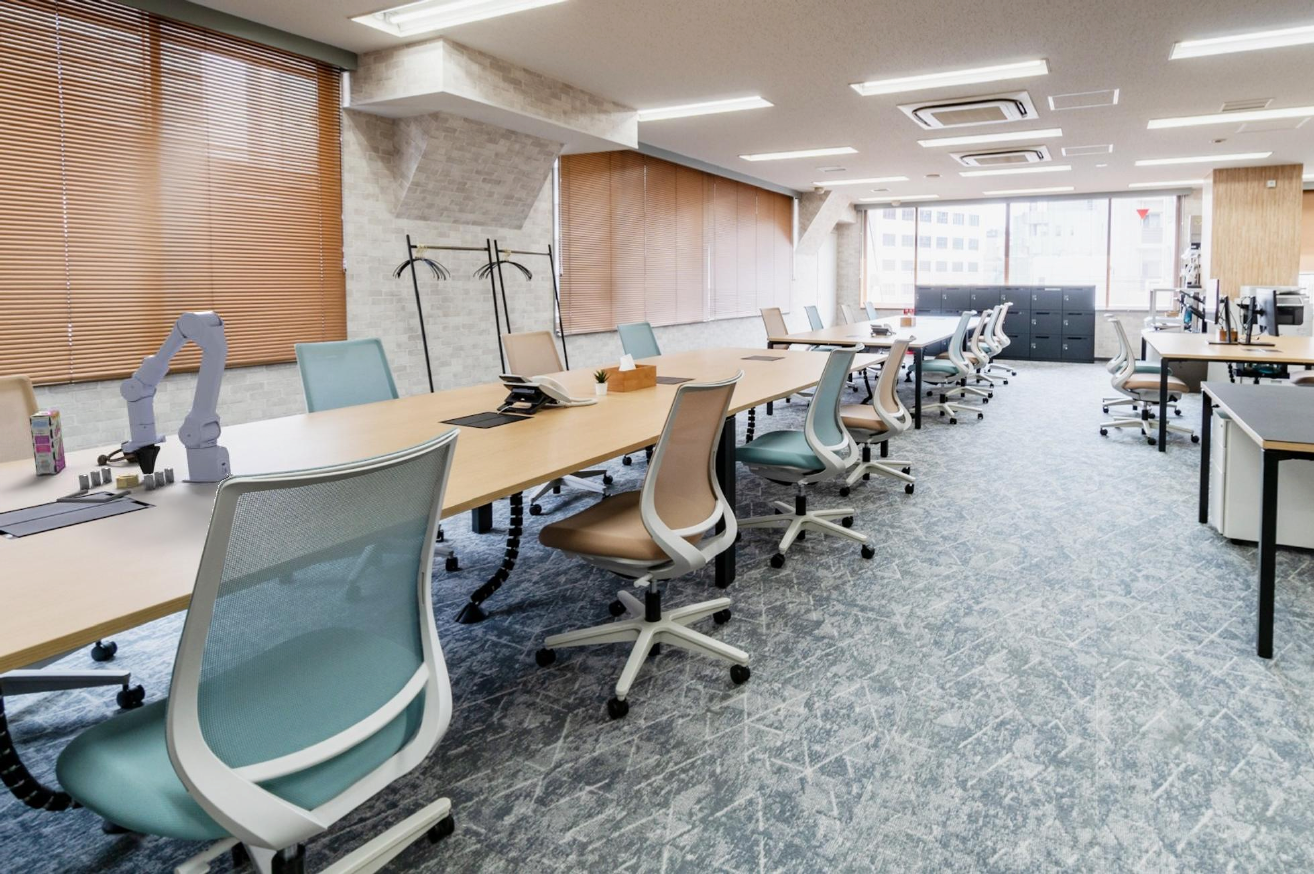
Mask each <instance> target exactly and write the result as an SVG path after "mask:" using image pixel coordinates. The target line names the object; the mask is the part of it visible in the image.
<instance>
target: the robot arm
mask: <svg viewBox="0 0 1314 874" xmlns="http://www.w3.org/2000/svg"><path fill="white" fill-rule="evenodd" d="M225 326H226V323H225V321H223V319H221V317H220V315H219V314H217V313H216V312H214V311H213V310H207V311H198V312H191V311H186V312H184V313H182V314H181V315H180V316H179V318H178V320H176V321H175V322H174V323H173V328H172V329H171V331H170V333H169V334H168V335H167V337H166V339H165V340H164V342H163V343H162V344H161V345H160V348H159V349H158V351H157V352H156V354H154V355H148V356H146V357H144V358H142V360H141V362H142V364H141V365H140V366H139V368H138V369H137V370H136V371H135V372H132V374H131V376H132V377H130V378H126V379H123V380H122V382H121V384H120V387H119V391H120V392H119V393H120V395H121V397H122V398H123V399H124V400H126V405H127V414H128V422H129V431H130V439H128V440H127V441H128V443H126V444H124V445H122V450H123V452H130V453H131V454H132V455H133V456H134V457H135V459H136V460H137V461H136V462H137V464H138V466H139V468H140V471H141V472H142V474H143V475H154V473H155V466H156V460H157V458H158V456H159V453H160V451H161V446H160V445H157V444H161V443H166V442H167V439H166V437H167V436H166V435H165V434H164V435H163V434H157V430H156V420H155V413H154V402H155V401H154V398H155V396H156V394H157V390H158V389H157V386H158V384H159V383H160V382H161V381H162V380H163V379H164V377H165V376H166V374H167V373H168V372H169V371H170V364H169V363H170V361H171V360H172V359H173V358H174V357H175V356H176V355H177V354H178V353H179V351H180V350H181V349H182V348H183V347H184V345H186V344H187V342H189V341H191V342H192V343H194V344H196V345H197V346H198V347H199V349H200V350H201V351H202V356H201V362H200V368H199V372H198V377H197V382H196V387H195V392H194V398H193V402H192V408H191V410H190V411H189V412H188V414H187V415H186V416H185V417H184V422H183V424H181V426H180V427H179V428H178V433H177V436H178V439H179V441H180V443H181V444H182V445H184V449H185V450H186V460H187V469H188V470H187V471H188V477H185V478H183V479H181V482H199V483H200V482H203V483H204V482H205V483H206V482H208V483H209V482H210V483H211V482H213V483H214V482H215V483H216V482H218V481H222V480H225V479H226V477H227V478H229V477H232V476H233V473H232V471H231V462H230V453H229V451H228V448H227V447H226V446H224V445H223V446H221V445H218V439H219V438H220V436H221V434H222V428H221V424H220V423H221V422H220V421H221V416H220V415H219V414H218V413H217V412H216V411H217V406H218V401H219V396H220V391H221V386H222V382H223V377H224V372H225V367H226V362H227V358H228V357H227V356H228V352H229V346H228V345H229V344H228V341H227V337H226V334H225ZM123 452H122V453H123ZM231 473H232V474H231ZM227 474H228V475H227ZM228 476H229V477H228Z"/></svg>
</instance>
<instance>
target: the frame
mask: <svg viewBox="0 0 1314 874" xmlns="http://www.w3.org/2000/svg"><path fill="white" fill-rule="evenodd" d="M87 493H89V489H86V490H79V491H77V492H73V493H71V494H68V495H65V496H61V497H59V498H56V502H61V503H63V502H64V503H65V502H66V503H67V502H70V503H72V502H73V503H106V502H110V501H112V500H115V499H118V498H121V497H123V496H126V495H128V494H129V495H130V494H131V493H132V492H131V490H124V491H121V492H118V493H116V494H113V495H110V496H107V497H105V498H96V497H95V498H93V497H92V498H86V497H84V498H80V497H79V498H78V496H82V495H85V494H87ZM76 497H77V498H76Z"/></svg>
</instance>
